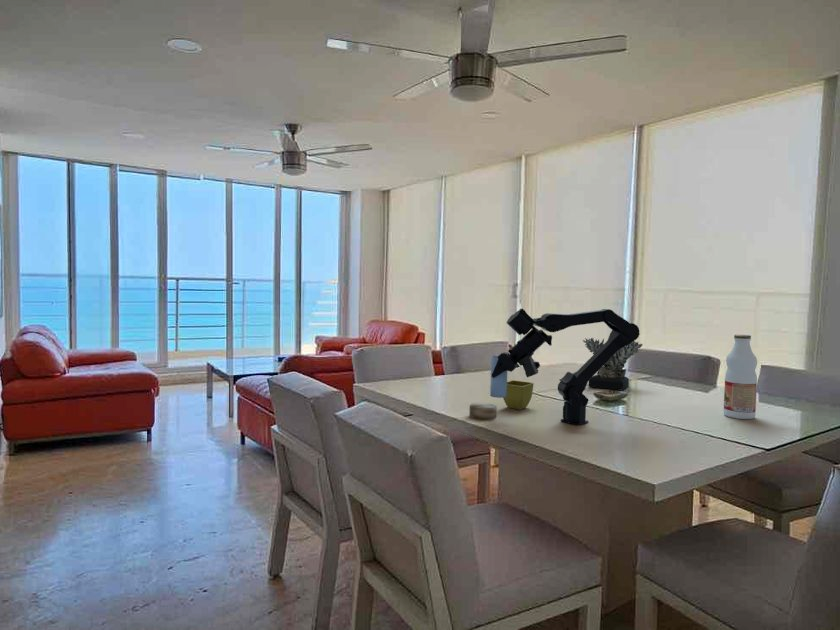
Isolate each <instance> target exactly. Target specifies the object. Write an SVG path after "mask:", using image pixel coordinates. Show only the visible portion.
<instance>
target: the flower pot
mask: <svg viewBox="0 0 840 630" xmlns="http://www.w3.org/2000/svg"><path fill="white" fill-rule="evenodd" d="M533 389H534V382H528V381H522V380H521V381H520V380H514V379H513V380H508V381H507V397H504V398H502V399H503V401H504V403H505V405H506V406H507V408H509V409H516V410H522V409H525V408H527V407H528V405H529V403H531V402H530V401H531V399H532V396H533Z"/></svg>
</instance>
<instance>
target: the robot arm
mask: <svg viewBox="0 0 840 630" xmlns="http://www.w3.org/2000/svg"><path fill="white" fill-rule="evenodd" d="M597 323H604V324H605V325H606V326H607V327H608V328H609V329H610V330H611V331H610V333H609V336H608V338H607V340H606V342H604V343H603V344H604V345H603V346H602V347H601V348H600V349H599V350H598V351H597V352H596V353H595V354H592V356H591V357H590V358H588V360H586V362H584V364H583V365H582V366H581V367H580V368H579V369H578V370H577V371H575V372H570V371H567V372H566V373H565V374H564V376H563V377H562V378H560V379H559V381H560V382H559V383H558V384H557V391H558V394H559V395H561V396H562V398H563V406H562V418H561V419H560V422H563V423H565V424H566V423H567V424H570V425H575V426H577V425H578V426H579V425H582V424H587V423H589V420H586V419H587V418H586V417H587V416H586V415H587V412H586V411H587V409H586V408H587V406H588V403H589V398H587V396H586V395H585V394H584V391H585V390H586V388H587V385H588V384H589V380H590V379H591V378H592V377H593V376H595V375H597V373H598V370H599V369H600V368H601V367H602V366H603V365H604V364H605V363H606V362H607V361H608V360H609V359H610V358H611V357H612V356H613V355H614V354H615V353H616V352H617V351H618V350H619V349H621V348H623V347H625V346H627V345H629V344H631V343H632V342H633V341H635V342H636V341H637V339H638V338H640V337H639V336H640V335H641V333H640V328H639V326H638V325H637V324H635V323H632V322H629V321H628V320H626V319H625V318H623V317H622V316H620V315H618V314H617V313H616V312H615V311H613V310H612V309H609V308H602V309H599V310H598V309H597V310H593V311H592V310H591V311H584V312H577V313H569V314H568V313H567V314H565V313H544V314H542V315H540V317H538V318H537V317H536V318H532V317H531V316H530V315H529V314H528V313H527V312H526V310H525V309H524V308H519V310H518V311H517V310H516V312H514V314H511V316H509V318H508V319H507V321H506V324H507V325H508V326H509V327H510V328H511V329H512V330H513V331H514V332H515V333H516V334H517V335H518V336H521V335H523V337H522V338H521V339H519V340H518V341H517V342H516V344H514V345H513V346H512V347H511V348H509V349H508V350H507V351H504V352H501V353H500V354H498V355H499V356H498V361H497V364H496V366H495V368H494V371H493V373H492V375H491V374H490V377H491V376H492V377H493V378H495V377H496V376H498V375H500V374H501V373H503V372H505V371H507V372H510V373H512V372H513V371H514V370H516V368H517V369H518V368H520V366H521V367H522V368H523V370H524V373H525V376H526V378H529V377H532V376H535V375H538V374H539V368H540V367H541V364H540V362H539V361H536V360H535V359H534V358H533V355H535V352H536V351H537V350H538V349H540V347H542V345H544V344H545V343H547V344H548V346H550V347H551V346H552V339H553V336H552V335H551V334H547V333H546V332H549V333H556V332H559V331H560V332H561V331H563V330H566V329H567V328H570V327H574V326H583V325H589V324H597ZM537 327H538V328H540V329H538V328H537ZM545 331H546V332H545ZM627 347H628V346H627Z"/></svg>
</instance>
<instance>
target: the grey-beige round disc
mask: <svg viewBox="0 0 840 630" xmlns="http://www.w3.org/2000/svg"><path fill="white" fill-rule="evenodd" d="M497 410H498V409H497V404H494V403H493V404H492V403H488V402H476V403H475V402H474V403H471V404H469V417H470V418H472V419H475V420H483V421H484V420H493V419H494V420H495V419H496V418H497V415H498V414H497V413H498V412H497Z"/></svg>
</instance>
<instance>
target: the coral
mask: <svg viewBox="0 0 840 630" xmlns="http://www.w3.org/2000/svg"><path fill="white" fill-rule="evenodd" d="M582 342H583V343H585V344H584V346H585V347H586V348H587V350H588V351H589V352H590V353H592V355H594V354H595V353H596V352H597V351H598V350H599V349H600V348H601V347H602V346H603V345H604V344H605V338H602V340H601V342H600V339H594V337H591V338H586V337H585V338H584V339H582ZM642 347H643V343H639V342H638V341H636V340H635V341H633V342H632V343H631V344H629V345H627V346H625V347H623V348H621V349H619V350H618V351H617V352H616V353H615V354H614V355H613V356H612V357H611V358H610V359H609V360H608V361H607V362H606V363H605V364H604V365H603V366H602V367H601V368H600V369H599V370H598V371H597V372H596V374H595V375H594V376H593V377H592V378H591V379H590V380H589V381H588V384H587V385H588V387H589V388H599V389H607V390H616V391H617V390H619V391H623V390H624V389H625V390H626V388H628V387H629V385H630V384H629V383H630V378H628V377H627V376H626V373H627V369H626V368H625V365H626V364H627V362H628V359H630V358H631V357H632V356H634V355H635V354H636V353H639V350H640V348H642Z"/></svg>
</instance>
